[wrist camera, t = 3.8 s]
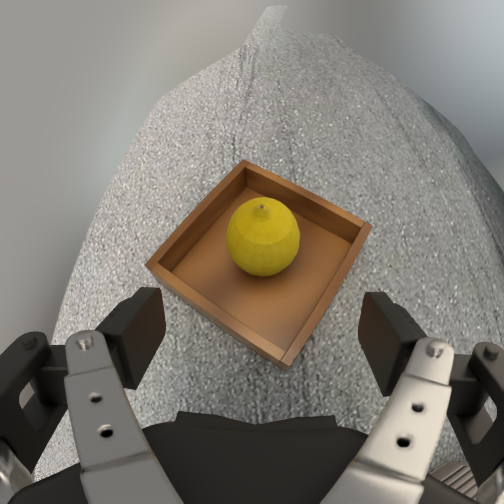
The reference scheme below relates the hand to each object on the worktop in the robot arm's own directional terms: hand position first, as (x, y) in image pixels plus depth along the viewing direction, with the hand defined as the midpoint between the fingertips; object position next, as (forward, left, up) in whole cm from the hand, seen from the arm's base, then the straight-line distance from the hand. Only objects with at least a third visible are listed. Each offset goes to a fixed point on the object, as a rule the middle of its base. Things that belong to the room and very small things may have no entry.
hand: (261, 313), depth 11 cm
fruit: (-5, +7, -12) cm, 15 cm away
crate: (-5, +7, -13) cm, 15 cm away
